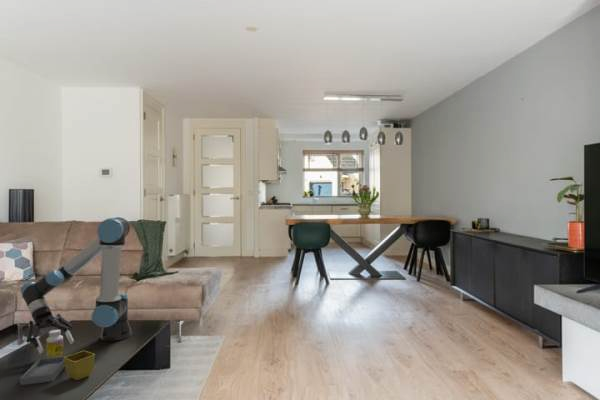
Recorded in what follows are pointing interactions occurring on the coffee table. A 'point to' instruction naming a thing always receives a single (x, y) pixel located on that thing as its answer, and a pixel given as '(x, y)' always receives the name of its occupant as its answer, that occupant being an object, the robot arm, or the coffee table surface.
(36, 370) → the tray
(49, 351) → the supplement bottle
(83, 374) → the flower pot
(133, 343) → the coffee table surface
